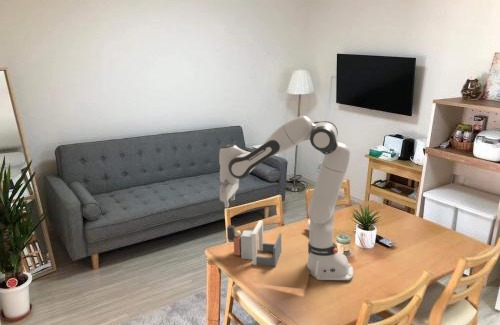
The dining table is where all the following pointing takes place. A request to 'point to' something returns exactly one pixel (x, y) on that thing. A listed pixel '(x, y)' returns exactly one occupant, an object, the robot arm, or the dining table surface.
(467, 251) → the dining table surface
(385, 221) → the dining table surface
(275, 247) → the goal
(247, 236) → the supplement box
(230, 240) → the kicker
